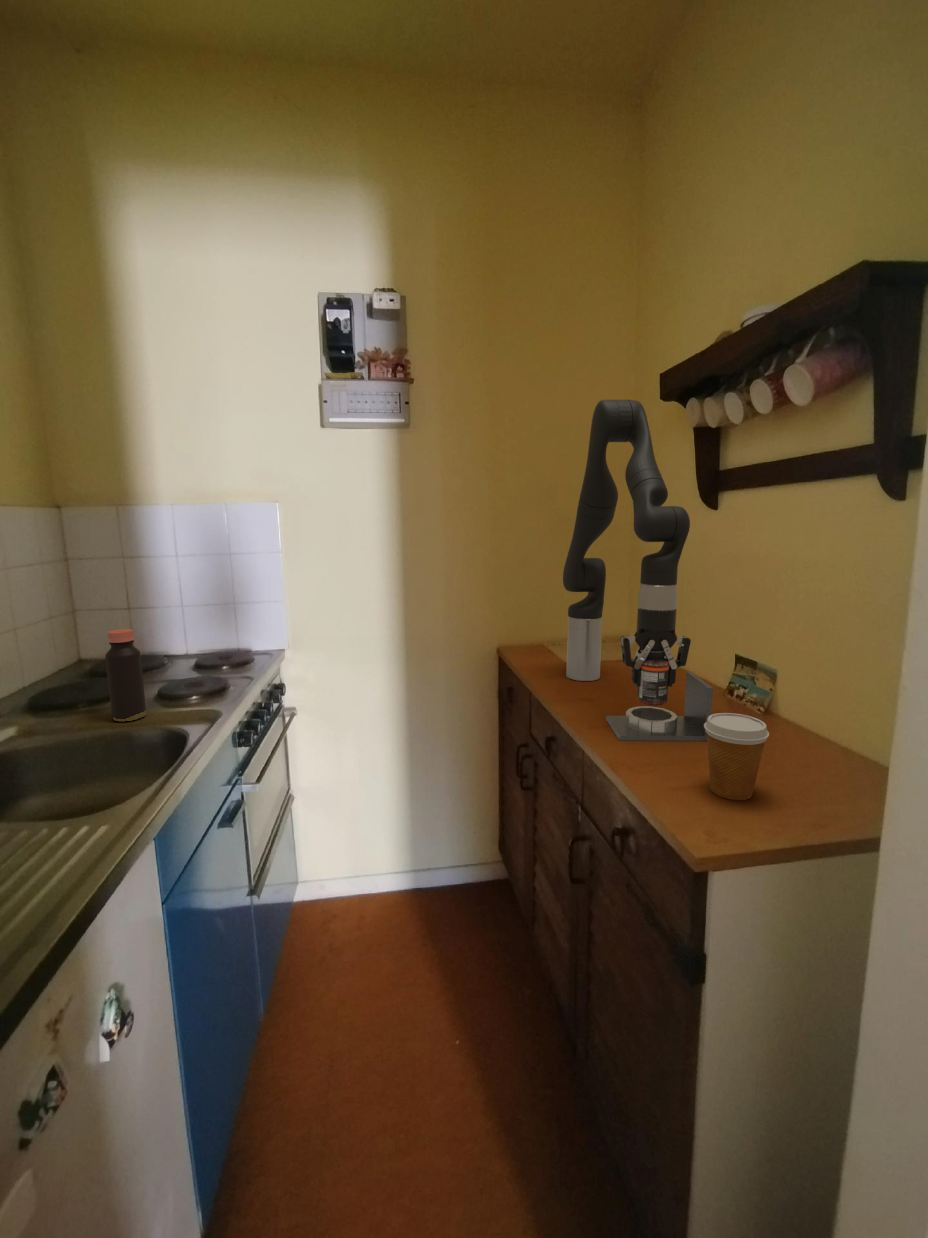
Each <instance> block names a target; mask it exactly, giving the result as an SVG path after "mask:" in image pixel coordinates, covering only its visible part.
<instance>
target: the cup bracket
mask: <svg viewBox="0 0 928 1238" xmlns="http://www.w3.org/2000/svg"><path fill="white" fill-rule="evenodd" d="M685 679H686V680H685V681H686V682H685V695H684V696H685V697H684V709H683V710H684V711H683V715H677V714H676V713H675V712H674V711H671V710H669V709H667V708H663V707H656V706H651V705H646V706H644V705H643V706H634V707H630V708H628V709H627V710H626V711H625V715H606V717H605V718H606V719H605V720H606V722H607V723H608V725H609V727H610V728H611V729H612V732H614V734H615V736H616V738H617V740H618V741H643V742H644V741H648V742H649V741H658V742H659V741H661V742H662V741H663V742H665V741H672V742H673V741H676V742H679V741H680V742H685V741H686V742H690V741H691V742H707V733H706V731H705V728H704V724H705V723H706V722H707V719H708V717H709V716H710V715H712V712H713V711H712V710H713V699H714V698H713V697H714V687H713V686H712V685H710V684H708V682H705V680H703V679H702V678H700V677H699V676H697V675H696V674H695V673H694V672H691V671H687V672H686V678H685Z"/></svg>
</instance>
